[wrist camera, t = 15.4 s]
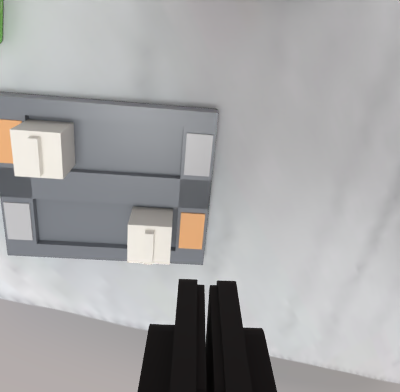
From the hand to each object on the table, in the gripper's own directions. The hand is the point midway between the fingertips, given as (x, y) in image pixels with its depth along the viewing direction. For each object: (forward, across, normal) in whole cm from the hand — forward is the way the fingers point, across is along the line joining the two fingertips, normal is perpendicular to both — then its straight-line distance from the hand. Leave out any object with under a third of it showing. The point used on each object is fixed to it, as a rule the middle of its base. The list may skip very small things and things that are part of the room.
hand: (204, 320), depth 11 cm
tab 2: (+26, +4, +10) cm, 28 cm away
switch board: (+27, +9, +6) cm, 29 cm away
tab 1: (+25, +14, +2) cm, 29 cm away
